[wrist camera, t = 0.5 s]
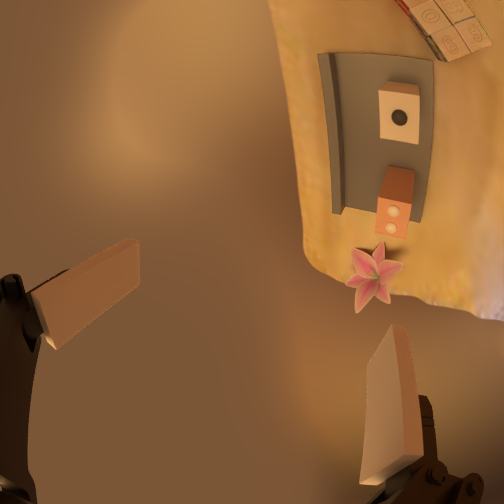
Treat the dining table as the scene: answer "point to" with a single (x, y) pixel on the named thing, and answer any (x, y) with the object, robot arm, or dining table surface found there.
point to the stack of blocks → (446, 27)
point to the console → (372, 127)
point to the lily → (372, 275)
